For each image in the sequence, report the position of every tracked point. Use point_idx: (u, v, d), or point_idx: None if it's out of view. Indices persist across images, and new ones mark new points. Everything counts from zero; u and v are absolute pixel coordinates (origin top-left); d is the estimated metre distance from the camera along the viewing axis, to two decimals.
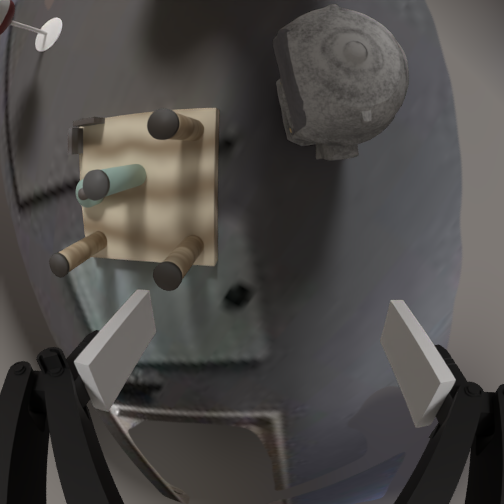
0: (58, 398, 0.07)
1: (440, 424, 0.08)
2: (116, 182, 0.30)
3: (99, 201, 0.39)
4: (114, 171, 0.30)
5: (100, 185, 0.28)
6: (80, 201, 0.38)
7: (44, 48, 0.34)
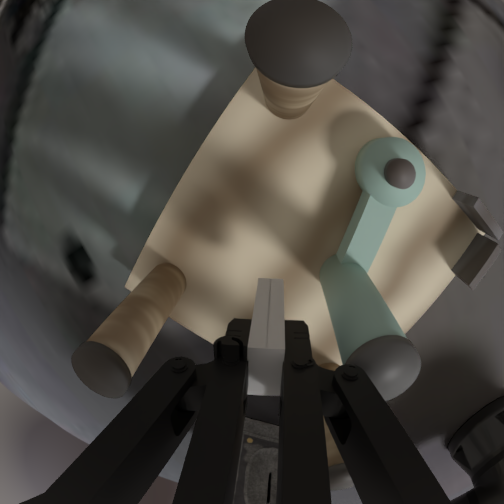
0: (222, 389, 0.09)
1: None
2: None
3: (358, 175, 0.17)
4: None
5: None
6: (392, 142, 0.15)
7: None
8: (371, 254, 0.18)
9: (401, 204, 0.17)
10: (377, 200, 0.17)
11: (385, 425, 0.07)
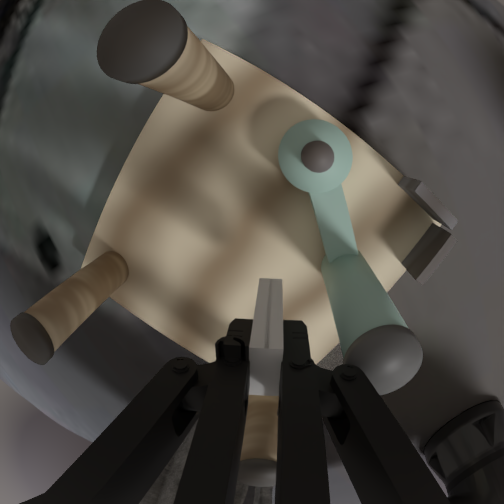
0: (223, 389, 0.09)
1: (281, 401, 0.11)
2: None
3: None
4: None
5: (379, 384, 0.11)
6: (293, 133, 0.16)
7: None
8: (350, 238, 0.18)
9: (343, 178, 0.16)
10: (318, 192, 0.17)
11: (383, 426, 0.07)
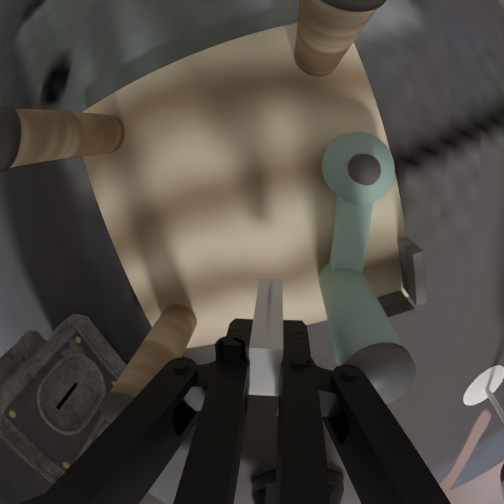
0: (223, 389, 0.09)
1: (281, 401, 0.11)
2: None
3: (326, 181, 0.18)
4: None
5: None
6: (349, 139, 0.16)
7: (490, 370, 0.26)
8: (361, 254, 0.18)
9: (376, 198, 0.17)
10: (350, 202, 0.17)
11: (383, 426, 0.07)
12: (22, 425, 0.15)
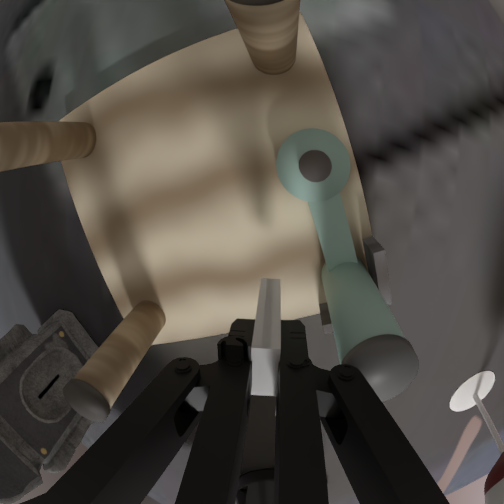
0: (226, 389, 0.09)
1: (279, 401, 0.11)
2: None
3: None
4: None
5: (375, 392, 0.11)
6: (290, 142, 0.16)
7: (478, 375, 0.26)
8: (349, 246, 0.18)
9: (341, 186, 0.17)
10: (317, 201, 0.17)
11: (381, 426, 0.07)
12: (4, 411, 0.15)
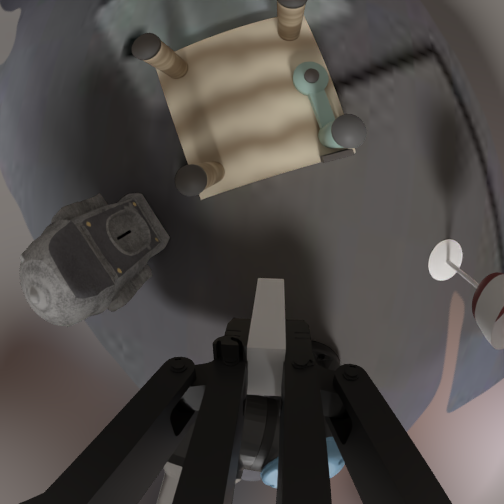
0: (221, 389, 0.09)
1: (283, 401, 0.11)
2: (344, 147, 0.28)
3: (299, 90, 0.33)
4: None
5: (349, 140, 0.26)
6: (299, 67, 0.31)
7: (445, 242, 0.41)
8: (331, 115, 0.33)
9: (324, 86, 0.31)
10: (313, 92, 0.32)
11: (385, 425, 0.07)
12: (94, 233, 0.29)
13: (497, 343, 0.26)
